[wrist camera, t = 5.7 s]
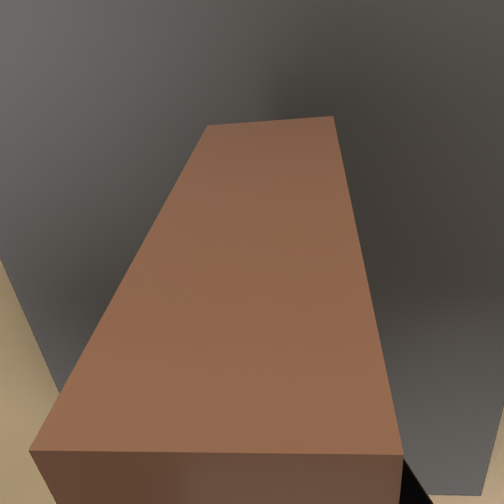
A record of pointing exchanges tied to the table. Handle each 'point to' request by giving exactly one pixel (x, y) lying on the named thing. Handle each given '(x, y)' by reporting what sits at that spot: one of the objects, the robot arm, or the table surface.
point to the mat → (267, 109)
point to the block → (236, 344)
